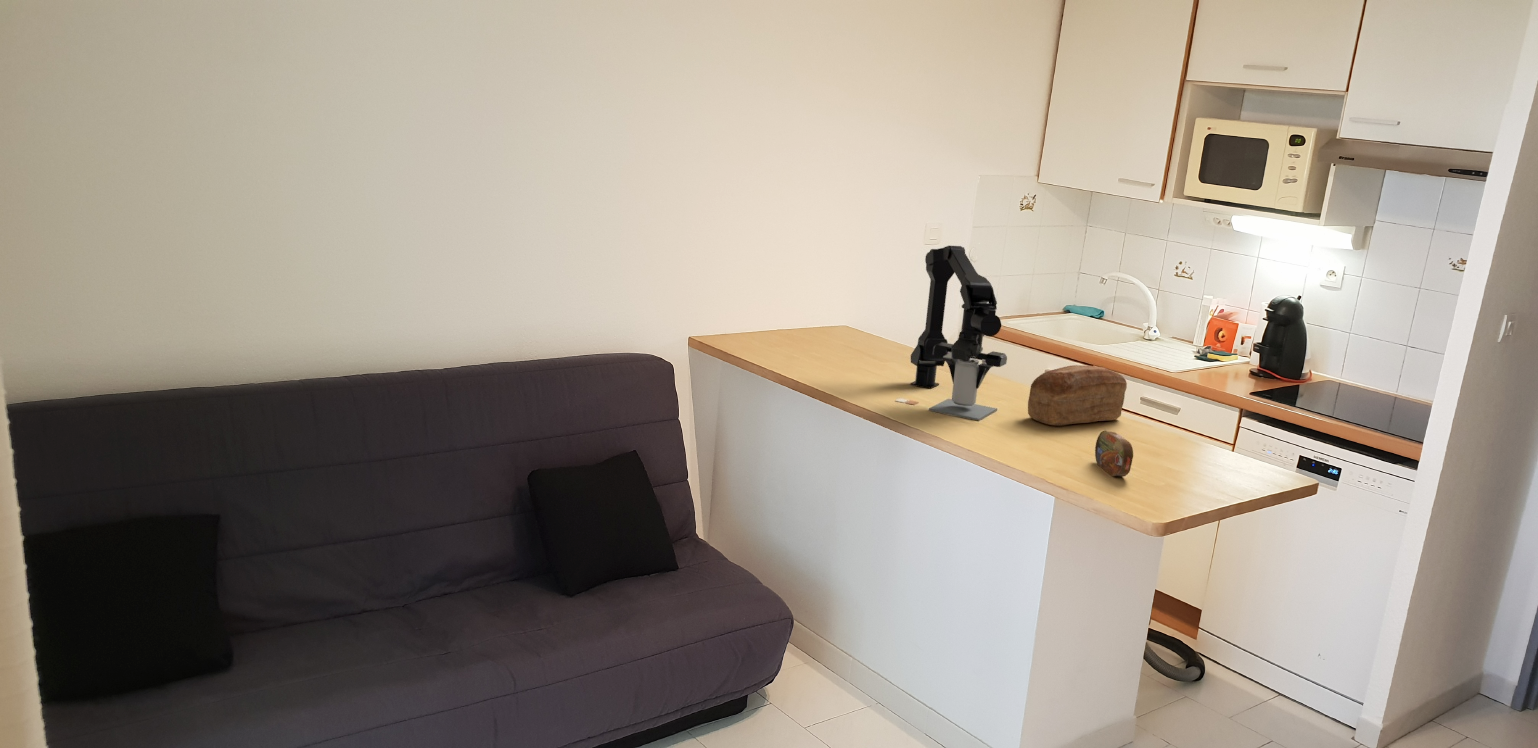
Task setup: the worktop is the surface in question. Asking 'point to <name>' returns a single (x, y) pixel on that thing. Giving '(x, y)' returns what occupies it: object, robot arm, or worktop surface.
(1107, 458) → the tin
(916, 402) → the two-tone square tiles
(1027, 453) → the worktop surface
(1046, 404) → the bread
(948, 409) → the slate mat
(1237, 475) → the worktop surface
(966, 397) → the beverage can
